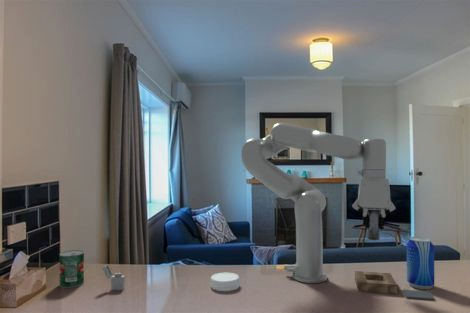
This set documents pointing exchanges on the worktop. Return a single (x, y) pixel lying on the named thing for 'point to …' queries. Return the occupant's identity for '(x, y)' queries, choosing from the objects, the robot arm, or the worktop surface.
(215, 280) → the white cheese wheel
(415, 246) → the beer can
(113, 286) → the lighter
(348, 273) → the worktop surface
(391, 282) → the pocket block
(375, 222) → the rod
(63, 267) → the canned tomato
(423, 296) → the mat
